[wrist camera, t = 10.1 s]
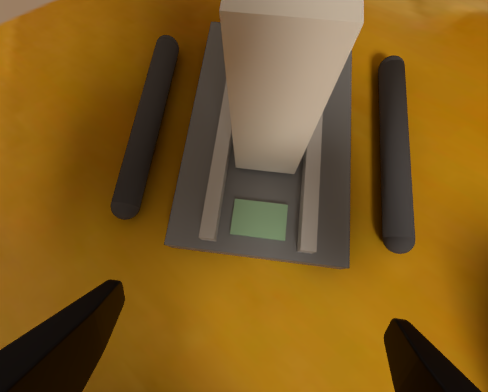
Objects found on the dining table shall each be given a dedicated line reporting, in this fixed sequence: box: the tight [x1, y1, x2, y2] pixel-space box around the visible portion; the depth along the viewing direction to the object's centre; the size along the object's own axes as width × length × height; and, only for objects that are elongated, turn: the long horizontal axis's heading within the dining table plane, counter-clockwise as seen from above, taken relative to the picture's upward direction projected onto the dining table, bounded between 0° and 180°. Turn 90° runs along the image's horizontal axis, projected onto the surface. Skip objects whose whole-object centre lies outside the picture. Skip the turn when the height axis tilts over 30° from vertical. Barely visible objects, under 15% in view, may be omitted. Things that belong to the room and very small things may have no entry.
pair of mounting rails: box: [111, 35, 415, 254], centre depth 17 cm, size 14×18×2 cm
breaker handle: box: [219, 0, 364, 174], centre depth 11 cm, size 2×3×10 cm
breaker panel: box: [164, 22, 352, 269], centre depth 17 cm, size 16×10×2 cm, turn 173°
